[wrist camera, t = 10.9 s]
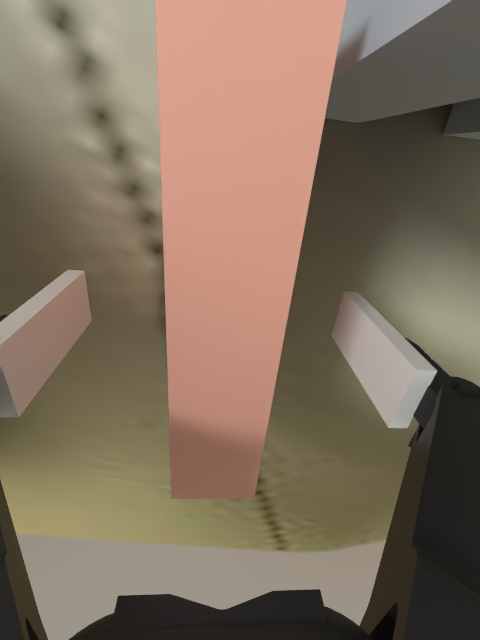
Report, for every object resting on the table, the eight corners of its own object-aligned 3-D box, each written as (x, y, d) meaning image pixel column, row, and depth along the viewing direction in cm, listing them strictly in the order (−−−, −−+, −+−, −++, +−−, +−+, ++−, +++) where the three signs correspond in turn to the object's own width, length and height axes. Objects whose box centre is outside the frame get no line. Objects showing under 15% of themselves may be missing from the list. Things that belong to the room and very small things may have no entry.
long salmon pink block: (190, 357, 21) (171, 498, 13) (194, 70, 14) (152, -71, 5) (240, 359, 22) (254, 497, 13) (269, 80, 14) (353, -37, 5)
